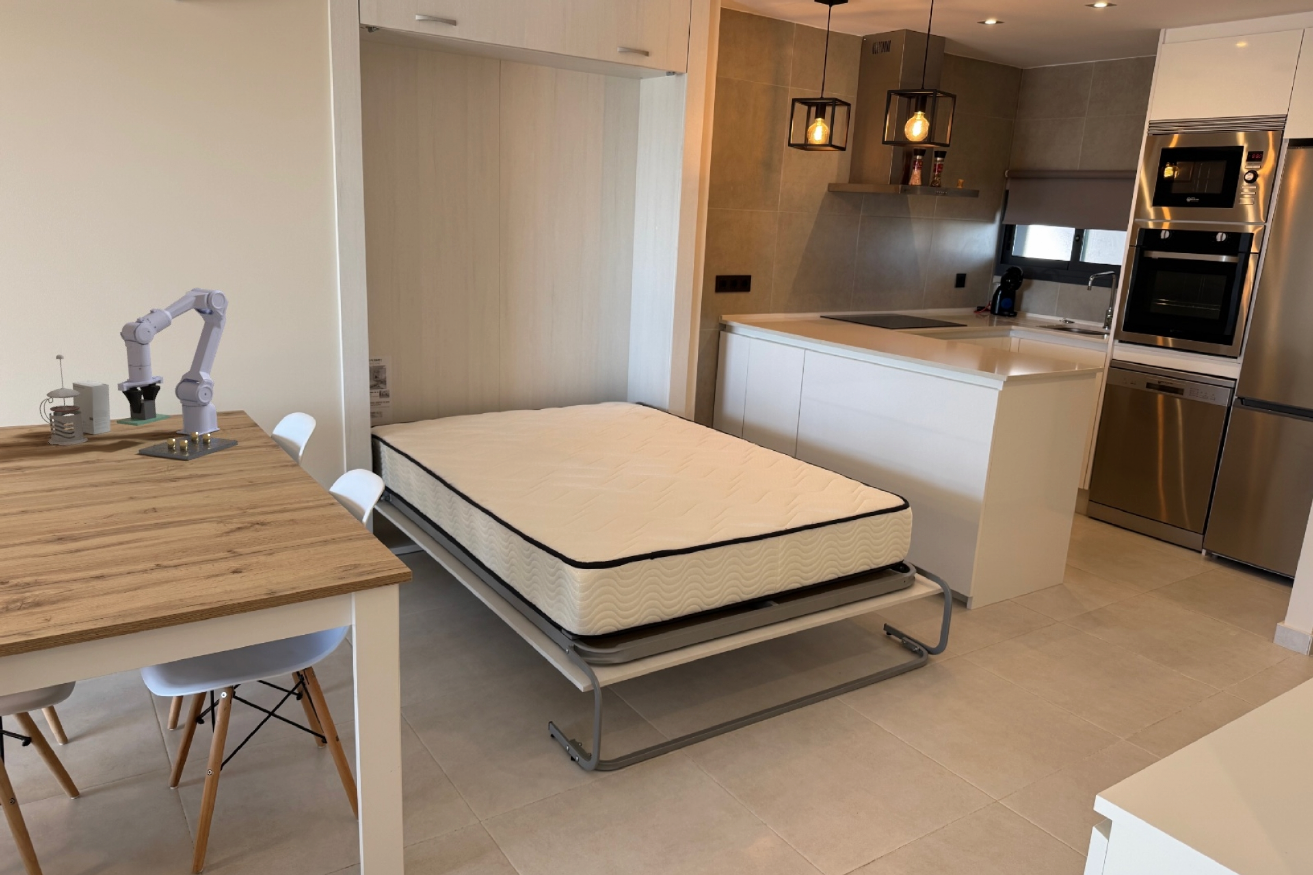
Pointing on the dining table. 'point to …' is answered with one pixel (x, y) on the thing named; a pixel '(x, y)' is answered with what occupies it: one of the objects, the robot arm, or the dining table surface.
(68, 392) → the french press
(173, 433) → the dining table surface
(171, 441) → the plate
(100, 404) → the skincare box
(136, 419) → the board
